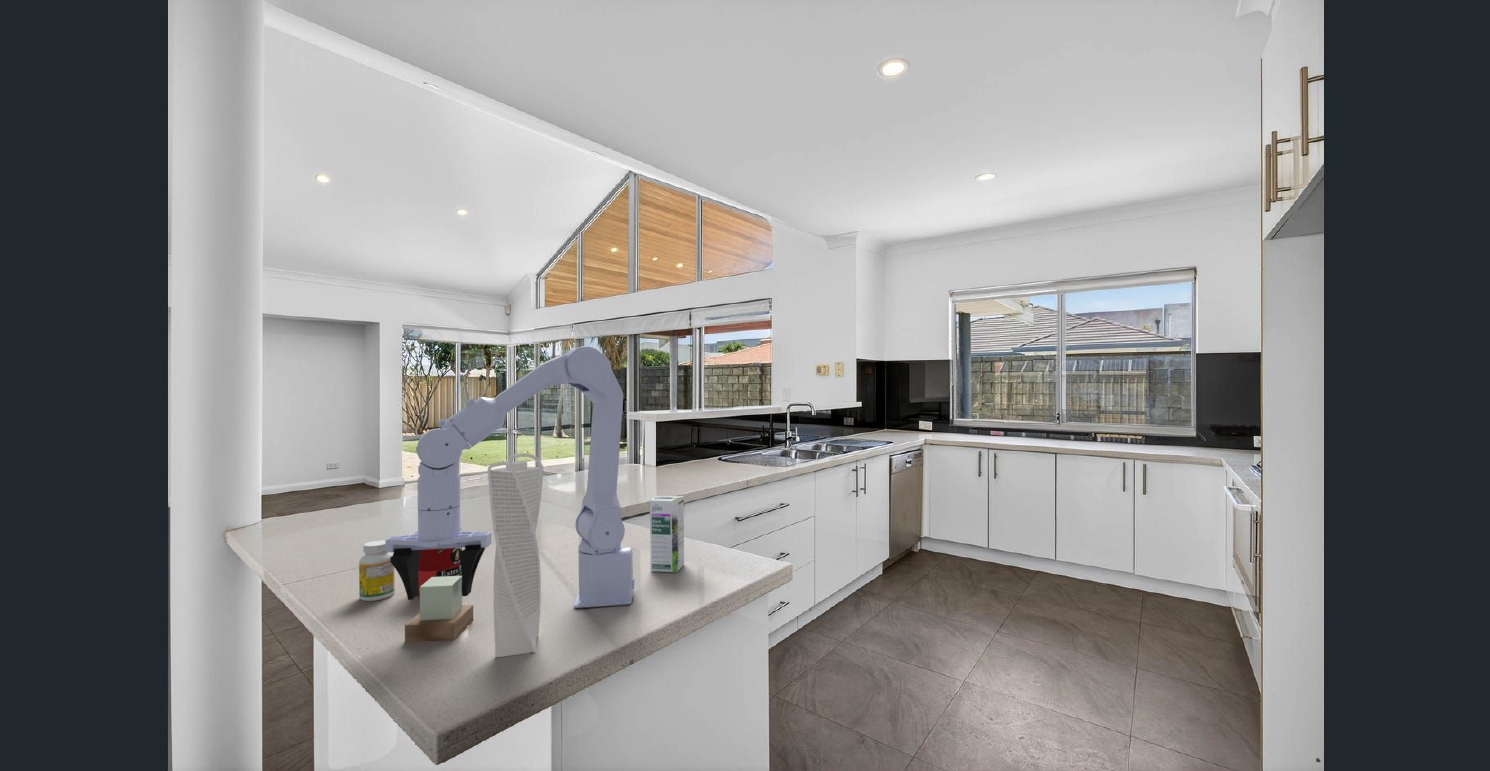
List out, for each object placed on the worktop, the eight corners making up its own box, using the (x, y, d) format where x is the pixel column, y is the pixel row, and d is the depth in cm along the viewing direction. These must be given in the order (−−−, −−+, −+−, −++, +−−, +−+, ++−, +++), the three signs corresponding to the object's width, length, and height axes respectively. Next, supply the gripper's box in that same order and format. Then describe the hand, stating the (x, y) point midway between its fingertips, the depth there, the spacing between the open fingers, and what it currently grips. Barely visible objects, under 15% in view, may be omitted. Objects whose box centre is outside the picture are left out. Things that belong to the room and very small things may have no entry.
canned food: (442, 599, 100) (442, 537, 100) (403, 596, 101) (403, 535, 101) (472, 584, 107) (471, 526, 107) (435, 582, 109) (434, 525, 109)
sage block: (462, 607, 89) (462, 575, 89) (451, 618, 85) (452, 585, 85) (431, 608, 88) (431, 577, 89) (419, 620, 84) (419, 587, 84)
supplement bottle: (391, 599, 100) (391, 544, 100) (355, 603, 98) (355, 548, 98) (397, 589, 105) (396, 537, 105) (363, 593, 103) (362, 541, 103)
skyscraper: (543, 655, 78) (541, 453, 78) (484, 664, 76) (482, 455, 76) (546, 632, 85) (544, 447, 86) (493, 639, 83) (491, 449, 83)
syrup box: (649, 572, 113) (648, 499, 113) (658, 563, 119) (658, 494, 119) (677, 573, 112) (676, 500, 112) (685, 564, 118) (684, 494, 118)
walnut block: (473, 623, 90) (473, 604, 90) (454, 643, 83) (454, 622, 83) (427, 625, 90) (427, 606, 90) (404, 645, 83) (404, 625, 83)
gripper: (374, 515, 81) (375, 609, 81) (481, 510, 84) (482, 602, 84) (397, 505, 88) (397, 591, 88) (494, 501, 91) (495, 585, 91)
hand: (440, 595), depth 86 cm, fingers open, 7 cm apart
